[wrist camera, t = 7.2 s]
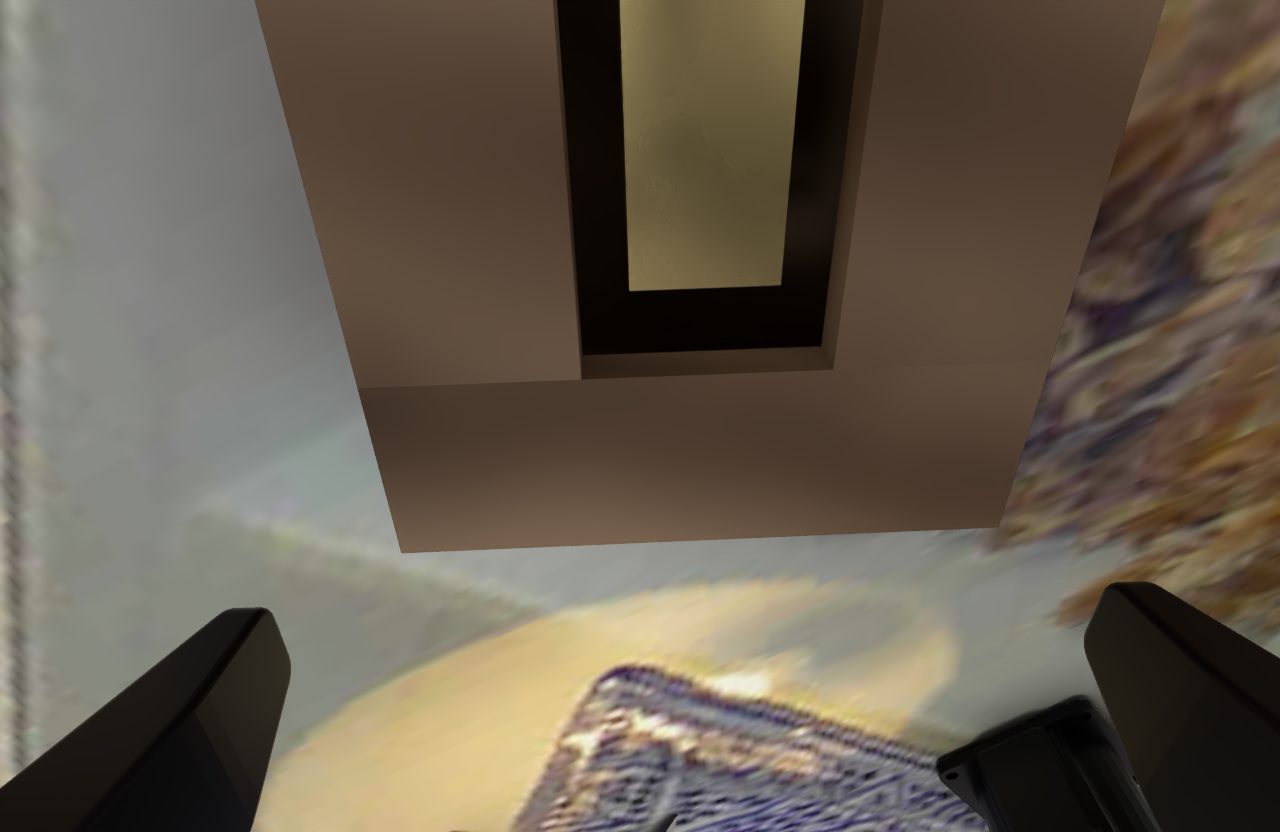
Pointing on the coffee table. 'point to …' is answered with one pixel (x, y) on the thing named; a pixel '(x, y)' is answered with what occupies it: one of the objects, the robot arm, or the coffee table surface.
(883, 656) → the coffee table surface
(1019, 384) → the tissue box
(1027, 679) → the coffee table surface
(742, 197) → the wooden plank piece
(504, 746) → the coffee table surface
